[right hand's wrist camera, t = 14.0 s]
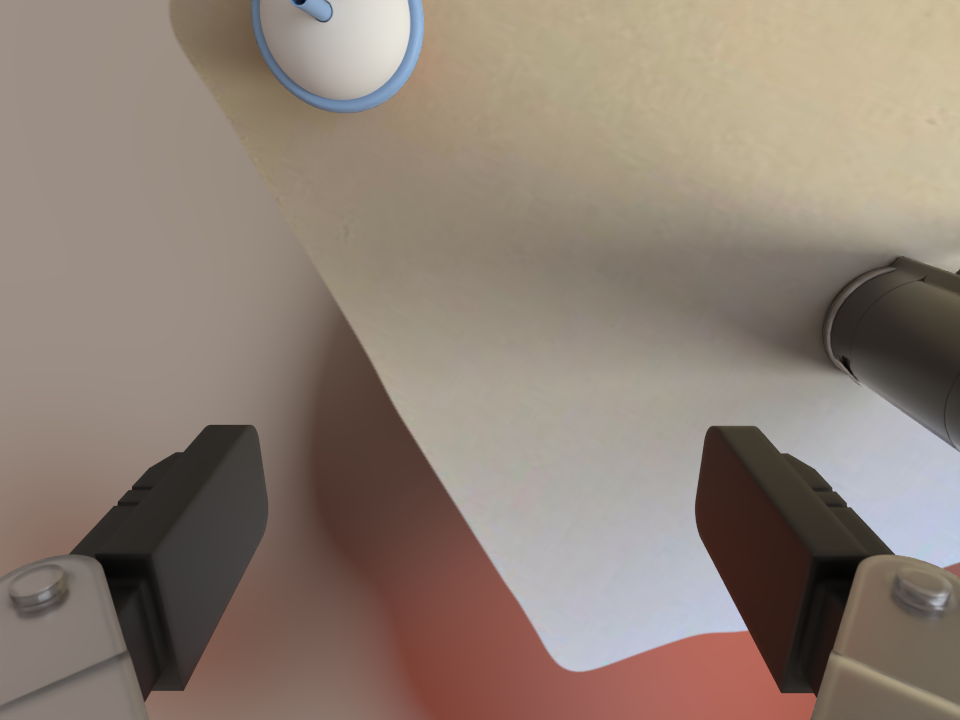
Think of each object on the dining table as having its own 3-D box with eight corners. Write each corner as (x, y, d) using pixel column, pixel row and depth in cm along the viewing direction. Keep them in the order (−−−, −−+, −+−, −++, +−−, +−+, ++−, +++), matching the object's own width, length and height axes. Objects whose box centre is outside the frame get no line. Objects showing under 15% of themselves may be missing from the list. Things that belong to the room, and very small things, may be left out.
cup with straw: (275, 44, 43) (143, -1, 26) (360, -71, 40) (275, -200, 24) (377, 141, 45) (316, 157, 28) (463, 38, 43) (452, -10, 26)
